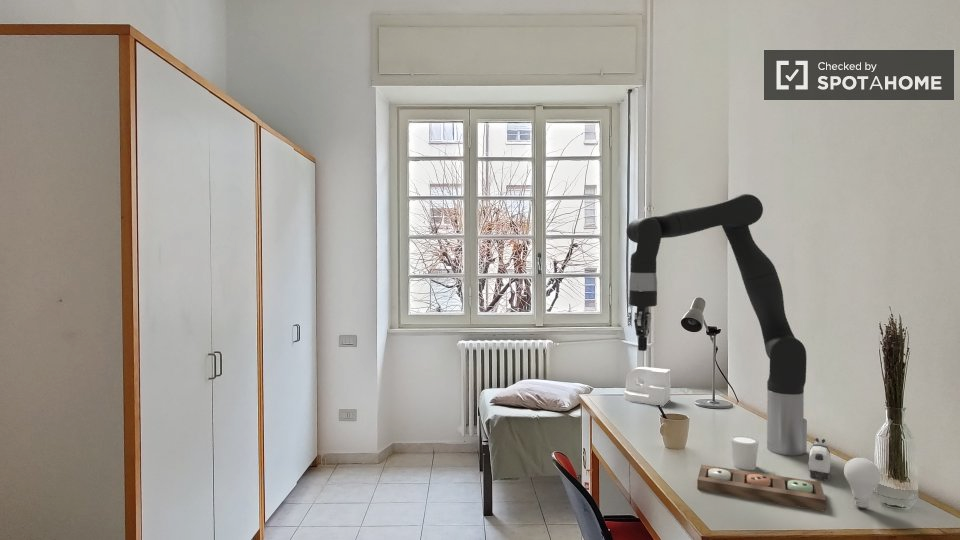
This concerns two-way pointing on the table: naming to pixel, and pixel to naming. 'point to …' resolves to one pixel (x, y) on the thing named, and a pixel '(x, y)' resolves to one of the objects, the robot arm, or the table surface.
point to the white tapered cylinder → (744, 452)
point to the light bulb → (862, 480)
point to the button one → (719, 474)
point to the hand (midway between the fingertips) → (642, 350)
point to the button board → (763, 489)
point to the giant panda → (819, 459)
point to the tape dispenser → (648, 386)
